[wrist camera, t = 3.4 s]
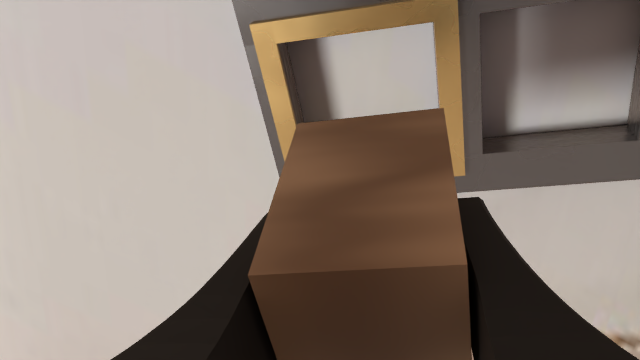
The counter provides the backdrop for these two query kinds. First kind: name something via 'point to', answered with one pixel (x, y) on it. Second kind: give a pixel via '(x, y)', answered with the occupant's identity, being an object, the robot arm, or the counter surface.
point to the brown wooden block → (365, 244)
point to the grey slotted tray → (453, 91)
